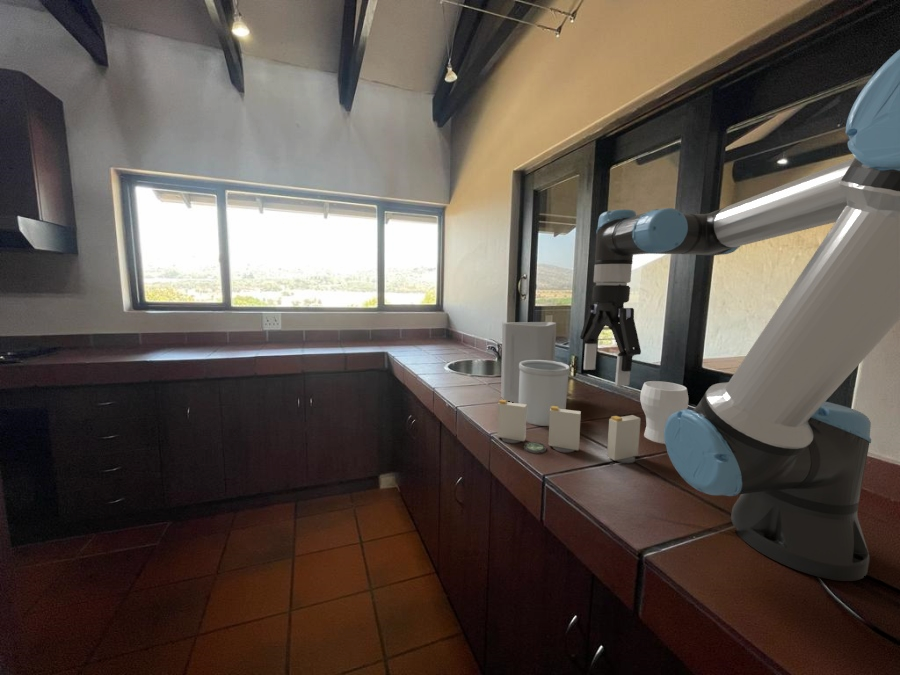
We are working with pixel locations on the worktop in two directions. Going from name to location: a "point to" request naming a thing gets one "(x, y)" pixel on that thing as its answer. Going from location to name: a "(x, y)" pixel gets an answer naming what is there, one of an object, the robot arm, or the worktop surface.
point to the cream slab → (511, 421)
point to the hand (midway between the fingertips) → (604, 376)
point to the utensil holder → (542, 388)
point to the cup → (661, 406)
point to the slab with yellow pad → (623, 438)
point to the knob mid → (564, 429)
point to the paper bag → (523, 351)
